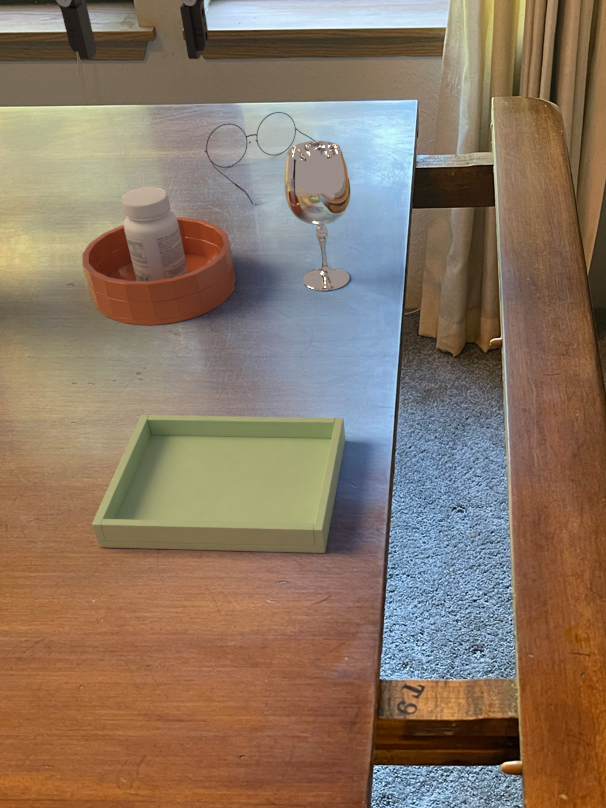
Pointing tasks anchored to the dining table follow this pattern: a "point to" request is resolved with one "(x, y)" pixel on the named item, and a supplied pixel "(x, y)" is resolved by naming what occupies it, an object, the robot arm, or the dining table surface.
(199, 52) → the robot arm
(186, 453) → the tray
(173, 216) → the pill bottle
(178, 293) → the bowl
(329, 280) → the wineglass
